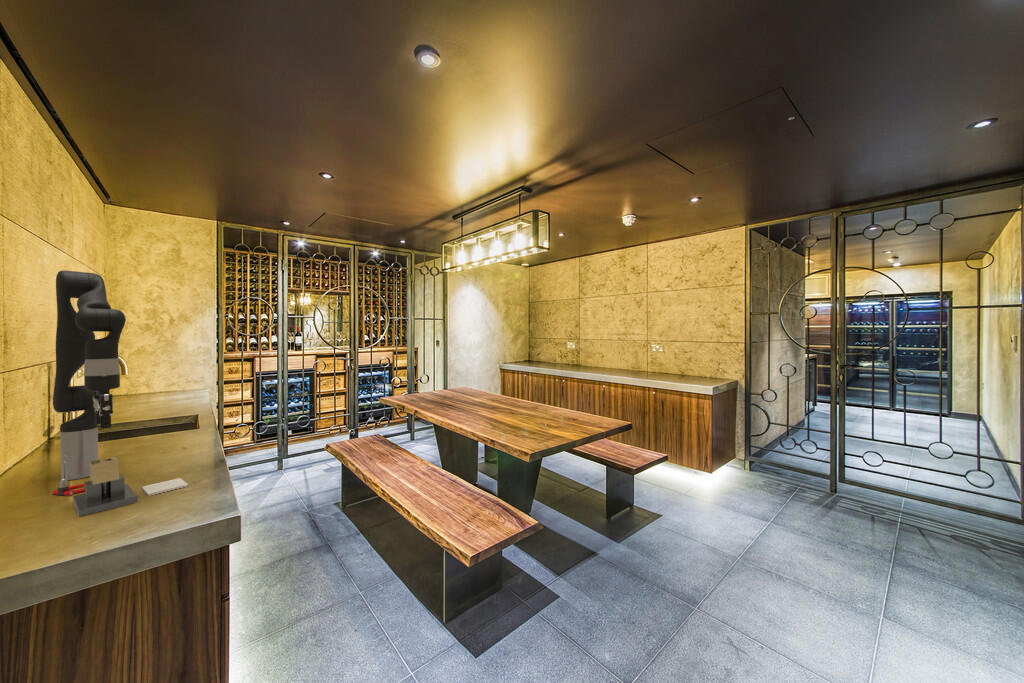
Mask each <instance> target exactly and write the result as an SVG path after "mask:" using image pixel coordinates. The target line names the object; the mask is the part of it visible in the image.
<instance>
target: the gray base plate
mask: <svg viewBox="0 0 1024 683" xmlns="http://www.w3.org/2000/svg"><path fill="white" fill-rule="evenodd" d="M104 462H106V461H104ZM83 484H85V487H84V488H85V492H84V493H80V494H74V495H72V502H73V505H74V508H75V511H76V513H77V516H78V517H79V518H81V517H85V516H89V515H93V514H97V513H100V511H101V512H104V510H105V511H108V509H109V510H112V508H113V509H116V507H117V508H120V506H121V507H124V505H125V506H127V504H129V505H132V504H131V503H133V504H135V503H134V502H137V503H138V495H137V493H135V492H134V490H133V489H132V488H131V486H129V484H128V483H126V484H125V477H124V475H123V474H121V473H120V474H119V479H118V480H113V481H108V482H104V483H99V484H94V485H92V483H91V481H90V480H88V481H84V483H83ZM96 512H97V513H96ZM92 513H93V514H92ZM84 515H85V516H84ZM80 516H81V517H80Z"/></svg>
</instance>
